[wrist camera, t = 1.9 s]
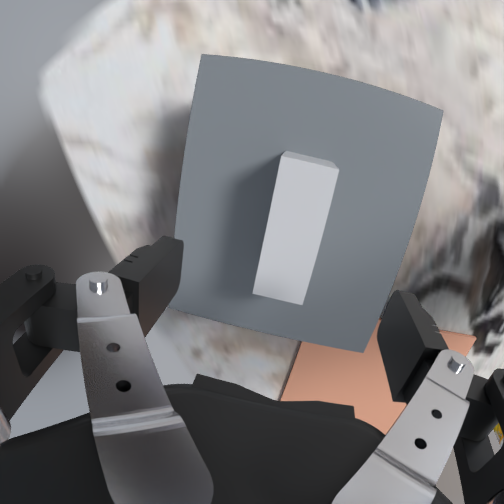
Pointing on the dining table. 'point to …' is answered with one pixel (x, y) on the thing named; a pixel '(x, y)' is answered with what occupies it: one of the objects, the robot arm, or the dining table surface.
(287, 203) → the lid
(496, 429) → the supplement bottle
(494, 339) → the dining table surface
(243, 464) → the robot arm
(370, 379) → the mat
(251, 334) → the dining table surface
